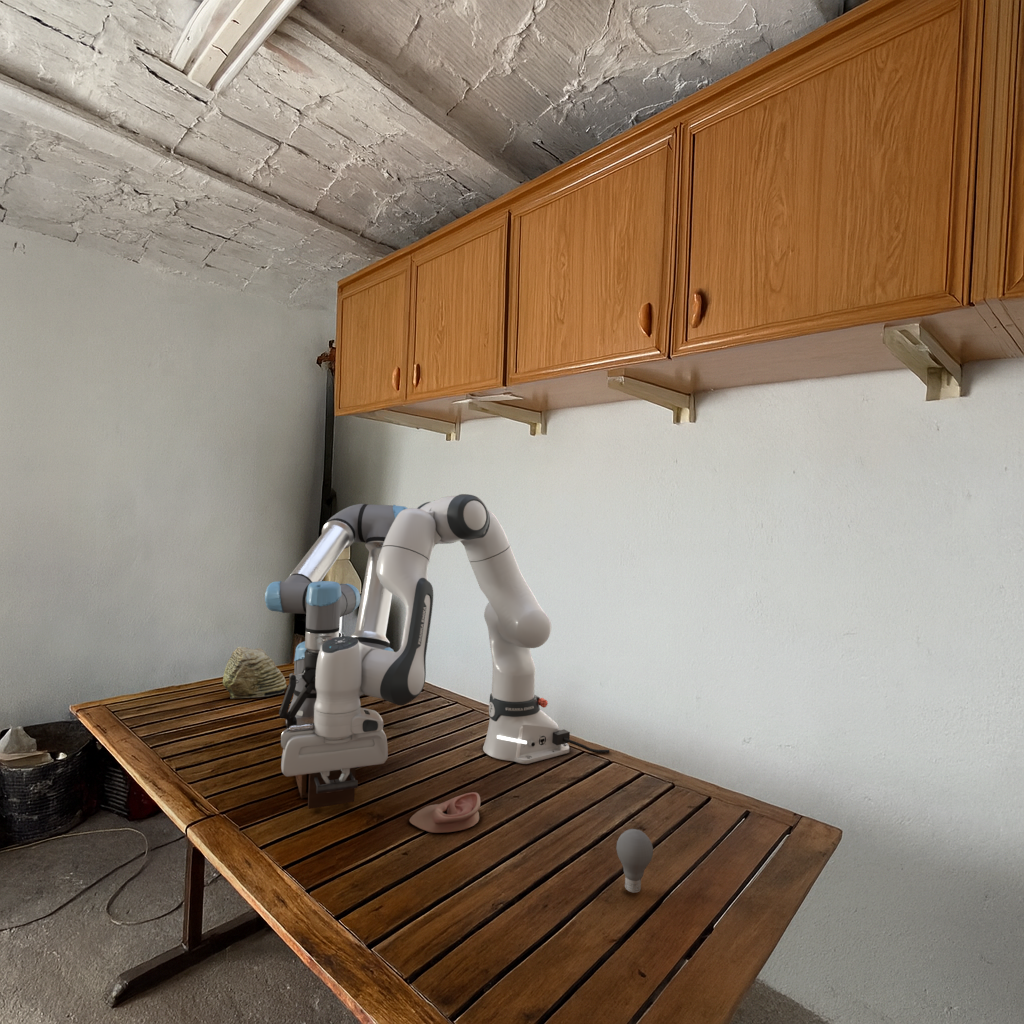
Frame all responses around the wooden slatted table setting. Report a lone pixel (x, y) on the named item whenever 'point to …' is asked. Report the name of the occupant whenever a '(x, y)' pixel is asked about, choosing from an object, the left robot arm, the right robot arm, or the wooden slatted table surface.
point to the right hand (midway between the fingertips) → (334, 790)
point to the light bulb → (634, 857)
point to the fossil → (252, 674)
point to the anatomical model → (449, 814)
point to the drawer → (330, 789)
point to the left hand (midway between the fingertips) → (318, 744)
